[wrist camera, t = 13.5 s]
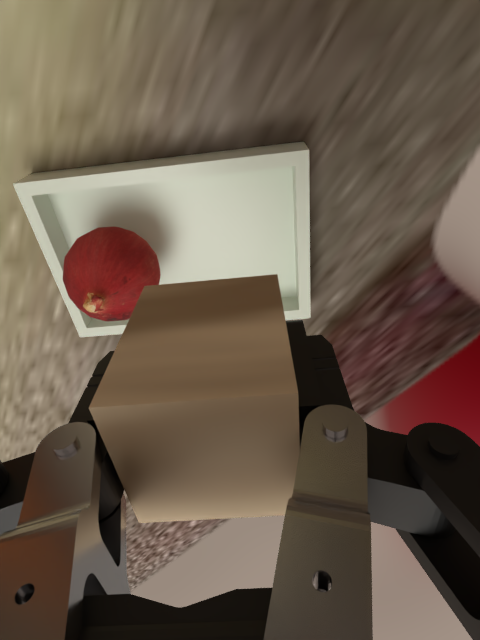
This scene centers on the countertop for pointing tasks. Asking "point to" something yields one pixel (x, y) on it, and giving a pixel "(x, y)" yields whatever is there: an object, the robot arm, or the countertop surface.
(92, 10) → the countertop surface
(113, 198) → the tray
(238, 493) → the maple block
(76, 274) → the pomegranate
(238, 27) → the countertop surface
